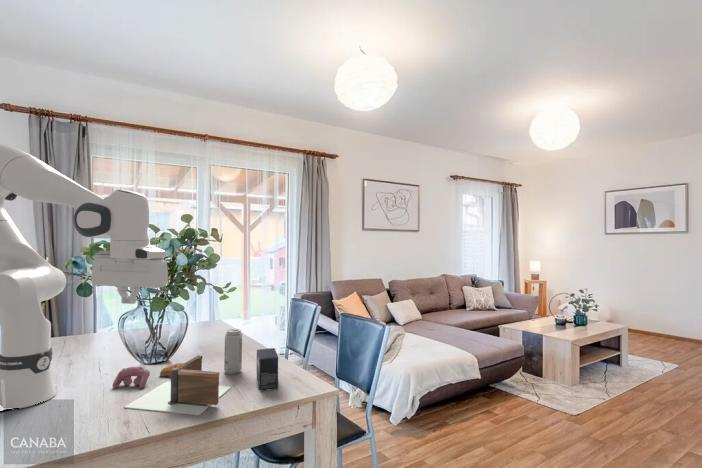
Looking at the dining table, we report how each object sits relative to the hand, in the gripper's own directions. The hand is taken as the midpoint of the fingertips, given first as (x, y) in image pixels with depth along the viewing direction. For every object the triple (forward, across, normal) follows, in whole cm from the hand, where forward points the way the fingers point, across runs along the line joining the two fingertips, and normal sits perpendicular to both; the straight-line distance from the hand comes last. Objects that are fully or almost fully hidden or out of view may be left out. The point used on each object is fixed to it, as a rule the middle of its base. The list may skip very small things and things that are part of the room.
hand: (128, 303), depth 99 cm
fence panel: (+30, +13, +12) cm, 35 cm away
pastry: (+32, -7, +34) cm, 47 cm away
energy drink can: (+31, +11, +39) cm, 51 cm away
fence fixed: (+31, +6, +18) cm, 37 cm away
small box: (+31, +27, +31) cm, 52 cm away
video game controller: (+31, -15, +21) cm, 41 cm away
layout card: (+31, +6, +16) cm, 35 cm away
